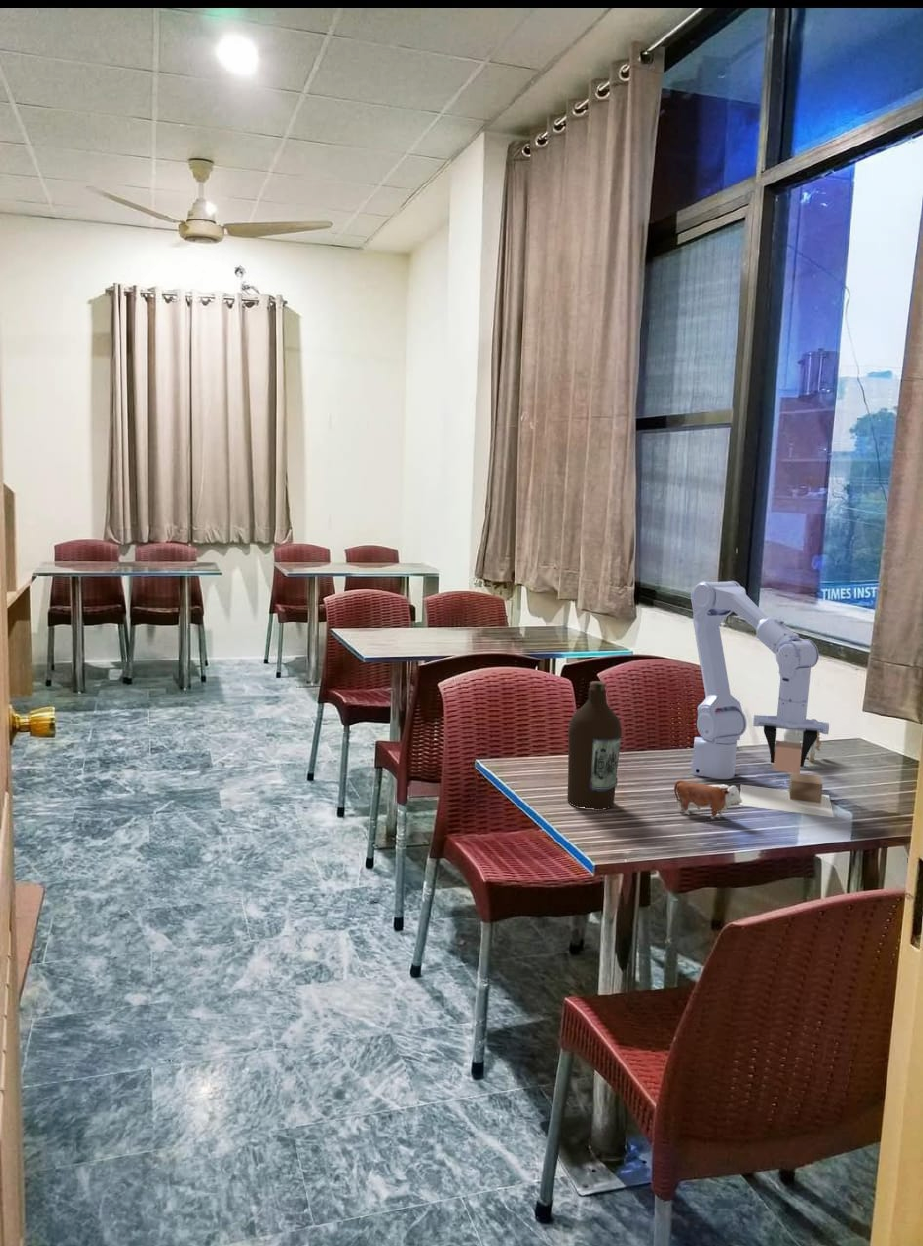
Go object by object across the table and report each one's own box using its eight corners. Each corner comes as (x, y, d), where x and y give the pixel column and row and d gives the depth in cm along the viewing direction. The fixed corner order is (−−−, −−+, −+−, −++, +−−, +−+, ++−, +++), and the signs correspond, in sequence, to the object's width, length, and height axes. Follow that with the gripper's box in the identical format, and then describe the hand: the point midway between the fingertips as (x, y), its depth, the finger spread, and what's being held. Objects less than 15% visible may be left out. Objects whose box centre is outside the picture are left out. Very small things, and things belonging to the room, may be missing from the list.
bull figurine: (737, 831, 182) (741, 790, 181) (669, 816, 189) (672, 776, 188) (744, 825, 186) (747, 784, 185) (677, 810, 193) (680, 771, 192)
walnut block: (790, 799, 199) (791, 780, 198) (789, 790, 205) (790, 772, 204) (820, 803, 197) (822, 784, 197) (818, 794, 203) (820, 776, 202)
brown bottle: (553, 798, 197) (560, 679, 193) (594, 791, 202) (601, 675, 198) (586, 815, 188) (594, 690, 184) (627, 807, 193) (636, 686, 189)
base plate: (739, 809, 194) (739, 804, 194) (740, 788, 208) (740, 784, 207) (833, 822, 189) (834, 817, 189) (828, 800, 202) (828, 795, 202)
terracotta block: (773, 770, 195) (775, 746, 194) (773, 763, 200) (775, 740, 199) (799, 773, 194) (801, 749, 193) (799, 766, 198) (801, 743, 198)
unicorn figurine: (771, 770, 222) (776, 714, 220) (790, 751, 239) (795, 699, 237) (803, 776, 218) (808, 719, 216) (820, 756, 235) (825, 703, 233)
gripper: (755, 699, 193) (749, 764, 195) (832, 707, 189) (825, 773, 191) (756, 692, 200) (750, 755, 202) (830, 699, 195) (823, 763, 198)
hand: (787, 763), depth 197 cm, fingers closed on terracotta block, 5 cm apart
